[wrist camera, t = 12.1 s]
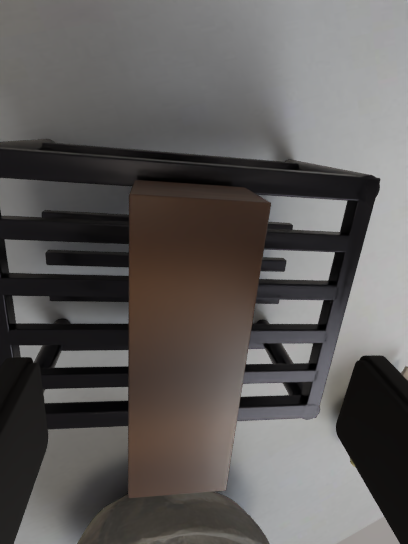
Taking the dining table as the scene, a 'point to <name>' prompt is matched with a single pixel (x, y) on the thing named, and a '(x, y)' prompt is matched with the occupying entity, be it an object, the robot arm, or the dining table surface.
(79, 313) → the dining table surface
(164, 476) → the brown wooden block
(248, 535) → the bowl
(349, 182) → the rack
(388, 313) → the dining table surface
